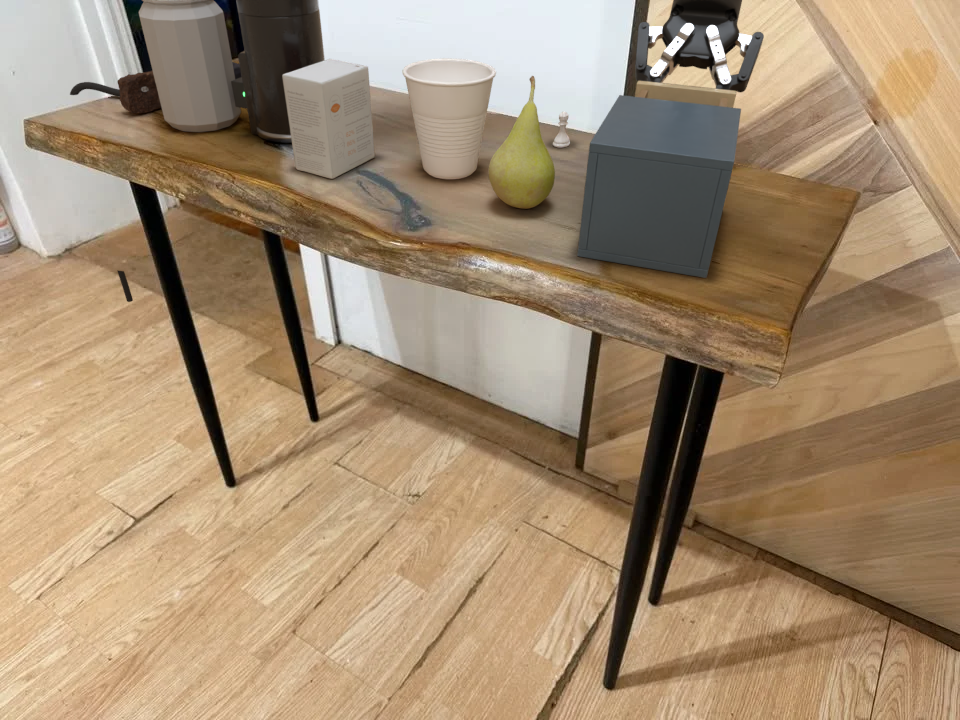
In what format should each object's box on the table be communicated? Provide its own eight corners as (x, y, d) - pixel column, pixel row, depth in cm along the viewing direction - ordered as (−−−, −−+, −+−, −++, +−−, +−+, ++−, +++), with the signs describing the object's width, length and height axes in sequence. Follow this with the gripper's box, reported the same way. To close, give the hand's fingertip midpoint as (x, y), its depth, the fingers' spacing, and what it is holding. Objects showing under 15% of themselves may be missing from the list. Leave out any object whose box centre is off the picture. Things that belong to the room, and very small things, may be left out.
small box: (339, 149, 86) (329, 57, 80) (376, 158, 84) (369, 64, 78) (293, 169, 81) (280, 73, 74) (332, 180, 78) (321, 81, 72)
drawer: (632, 146, 86) (644, 70, 81) (721, 157, 84) (738, 80, 79) (605, 203, 73) (617, 116, 67) (710, 219, 70) (730, 130, 65)
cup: (483, 191, 77) (486, 86, 70) (395, 182, 78) (390, 78, 72) (500, 158, 85) (503, 61, 78) (419, 151, 86) (416, 55, 80)
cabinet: (606, 195, 76) (619, 94, 70) (717, 212, 74) (741, 108, 67) (577, 256, 65) (589, 142, 59) (706, 278, 62) (734, 161, 56)
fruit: (483, 215, 72) (486, 94, 65) (494, 186, 78) (497, 72, 71) (549, 221, 71) (559, 98, 64) (555, 191, 77) (564, 76, 70)
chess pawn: (562, 149, 88) (565, 116, 85) (548, 145, 89) (551, 113, 86) (573, 143, 89) (576, 111, 87) (560, 140, 90) (563, 108, 88)
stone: (133, 118, 94) (122, 78, 91) (119, 113, 95) (108, 74, 92) (181, 104, 99) (173, 66, 96) (168, 100, 101) (159, 62, 98)
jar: (180, 139, 88) (142, -25, 77) (153, 119, 94) (115, -36, 83) (255, 124, 93) (228, -31, 82) (225, 106, 99) (196, -42, 88)
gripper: (648, -46, 79) (616, 92, 77) (784, -37, 76) (753, 107, 74) (647, -1, 87) (618, 126, 85) (771, 8, 83) (743, 141, 81)
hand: (681, 117), depth 79 cm, fingers closed on drawer, 6 cm apart
